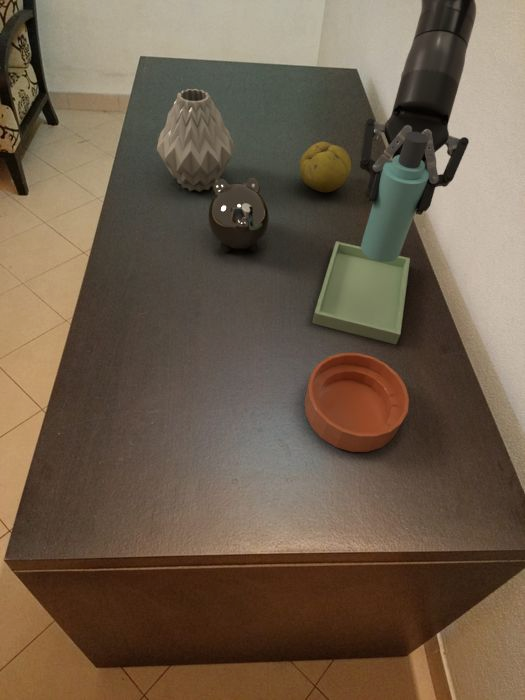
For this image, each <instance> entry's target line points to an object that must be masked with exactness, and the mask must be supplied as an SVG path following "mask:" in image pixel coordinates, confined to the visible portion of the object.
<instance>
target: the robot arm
mask: <svg viewBox="0 0 525 700" xmlns="http://www.w3.org/2000/svg"><path fill="white" fill-rule="evenodd" d="M476 3H477V2H476V0H421V6H420V7H421V8H420V9H421V10H420V15H419V17H418V21H417V24H416V28H415V33H414V36H413V39H412V43H411V47H410V49H409V51H408V54H407V57H406V60H405V62H404V67H403V70H402V72H401V75H400V81H399V85H398V89H397V92H396V95H395V96H396V97H395V99H394V103H393V107H392V111H391V114H390V117H389V119H387V120H386V121H385V122H377V121H375V120H374V119H373V118H367V119H366V121H365V125H364V130H363V138H362V144H361V145H362V147H361V152H360V153H361V154H360V161H359V162H360V163H359V168H360V169H361V170H365V171H366V172H368V174H369V179H368V182H367V187H366V191H365V199H367V200H368V204H370V205H373V203H374V200H375V197H376V193H377V189H378V186H379V182H380V178H381V174H382V170H383V167H384V165H385V164H386V163H387V162H388V161H391V160H393V158H394V157H395V156H397V155H400V153H401V150H402V147H403V144H404V140H405V137H406V134H407V133H409V132H420V133H423V134H425V135H426V136H427V137H428V138H429V140H428V143H427V146H426V149H425V152H424V154H423V157H422V161H423V162H424V164H425V169H426V170H427V171H428V174H429V178H428V180H427V183H426V186H425V188H424V191H423V194H422V196H421V199H420V202H419V204H418V207H417V210H416V212H415V215H420V216H421V215H422V214H423V213H424V212H427V211H428V210H429V208H430V207H431V205H432V201H433V198H434V194H435V190H436V188H438V187H444V188H445V187H448V186H449V184H450V183H451V182H452V181H453V180H454V178H455V175H456V173H457V171H458V169H459V167H460V164H461V161H462V160H463V157H464V156H465V155H464V154H465V152H466V150H467V148H468V145H469V143H470V141H469V139H468V138H467V137H465V136H463V137H461V138H458V137H455V136H453V135H450V133H449V121H450V119H451V115H452V111H453V109H454V104H455V101H456V97H457V94H458V90H459V86H460V83H461V79H462V77H463V76H462V75H463V72H464V69H465V68H464V67H465V61H466V55H467V50H468V47H469V43H470V39H471V36H472V32H473V29H474V25H475V21H476V16H477V4H476ZM382 133H383V134H384V136H385V139H386V142H387V143H388V146H387V147H386V148H385V150H384V151H383V153H382V154H381V155H380V156H379V158H378V159H377V160H376V161H375V160H374V159H372V158H371V155H372V147H373V141H376V140H378V139H379V136H380V134H382ZM444 145H445V146H446V148H447V150H446V154H447V155H448V156H450V157H449V159H448V161H447V163H446V166H445V168H444V171H443V173H442V174H441V173H440V174H439V173H438V168H437V158H436V152H437V151H439V150H440V149H441V148H442V147H443V146H444Z"/></svg>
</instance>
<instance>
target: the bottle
mask: <svg viewBox="0 0 525 700" xmlns="http://www.w3.org/2000/svg"><path fill="white" fill-rule="evenodd" d="M428 140H429V138H428V137H427V136H426V135H425V134H423V133H420V132H409V133H407V134H406V137H405V140H404V144H403V147H402V150H401V153H400V155H397V156H395V157H394V158H393V160H391V161H388V162H387V163H386V164H385V165H384V167H383V170H382V172H381V173H380V174H381V178H380V182H379V186H378V189H377V193H376V197H375V200H374V203H373V204H371V208H370V212H369V216H368V218H367V223H366V225H365V229H364V233H363V236H362V239H361V244H360V247H361V249H362V251H363V253H364V254H365V255H366V256H367V257H369V258H371V259H373V260H375V261H379V262H390V261H393V260H395V259H397V258H398V257H399V256H401V252H402V249H403V247H404V244H405V240H406V239H407V236H408V233H409V231H410V228H411V226H412V223H413V220H414V217H415V215H416V210H417V207H418V204H419V202H420V199H421V196H422V194H423V191H424V188H425V186H426V183H427V180H428V178H429V174H428V171H427V170H426V169H425V164H424V162H423V161H422V157H423V154H424V152H425V149H426V146H427V143H428Z"/></svg>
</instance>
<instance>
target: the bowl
mask: <svg viewBox="0 0 525 700" xmlns="http://www.w3.org/2000/svg"><path fill="white" fill-rule="evenodd" d="M405 384H406V383H404V381H403V380H402V378H401V377H400V375H399V374H398V373H397V372H396V371H395V370H394V369H393V368H392V367H391V366H389V365H388V364H387V363H386V362H384V361H381V360H380V359H378V358H376V357H374V356H371V355H367V354H363V353H360V352H342V353H337V354H333V355H331V356H328V357H326V358H325V359H323V360H321V361H320V362H318V364H317V365H316V366H315V368H314V369H313V370H312V371H311V373H310V377H309V381H308V385H307V388H306V393H305V397H304V402H303V403H304V412H305V417H306V418H307V420H308V422H309V425H310V427H311V429H312V430H313V431H314V433H316V434H317V435H318V437H320V438H321V439H322V440H323V441H325V442H327V443H328V444H330V445H331V446H333V447H335V448H337V449H341V450H344V451H348V452H354V453H355V452H356V453H357V452H359V453H364V452H365V453H367V452H371V451H374V450H377V449H381V448H382V447H384V446H386V445H387V444H388V443H389V442H390V441H391V440H393V439H394V438H395V435H396V433H397V432H398V430H399V429H400V427H401V425H402V423H403V421H404V420H405V418H406V416H407V414H408V412H409V404H410V403H409V402H410V397H409V394H408V390H407V386H406V385H405Z"/></svg>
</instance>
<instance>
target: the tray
mask: <svg viewBox="0 0 525 700" xmlns="http://www.w3.org/2000/svg"><path fill="white" fill-rule="evenodd" d="M410 262H411V258H410V257H406V256H402V255H399V257H398V258H397V259H395V260H393V261H390V262H379V261H375V260H373V259H371V258H369V257H367V256H366V255H365V254H364V253H363V251H362V249H361V246H358V245H354V244H350V243H347V242H340V241H338V240H337V241H335V244H334V246H333V250H332V253H331V257H330V260H329V263H328V267H327V270H326V273H325V277H324V280H323V284H322V287H321V290H320V294H319V296H318V300H317V303H316V306H315V310H314V314H313V317H312V323H311V324H313V325H318V326H322V327H326V328H329V329H333V330H337V331H340V332H344V333H349V334H352V335H355V336H356V335H357V336H360V337H364V338H369V339H372V340H376V341H379V342H383V343H384V342H385V343H388V344H391V345H397V343H398V341H399V338H400V337H401V332H402V326H403V325H402V324H403V318H404V308H405V301H406V293H407V287H408V278H409V271H410V270H409V269H410Z"/></svg>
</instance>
